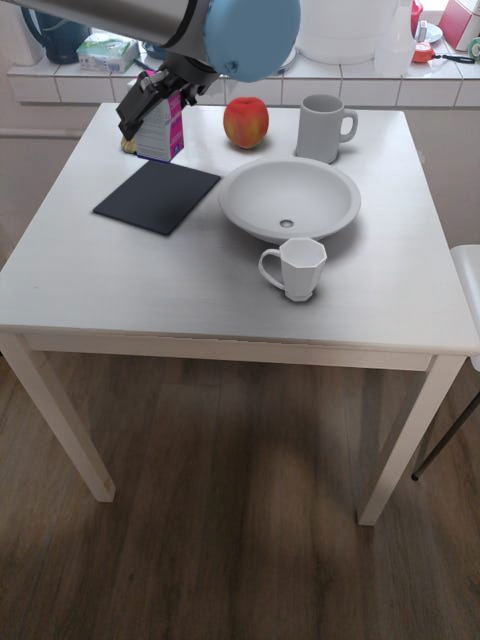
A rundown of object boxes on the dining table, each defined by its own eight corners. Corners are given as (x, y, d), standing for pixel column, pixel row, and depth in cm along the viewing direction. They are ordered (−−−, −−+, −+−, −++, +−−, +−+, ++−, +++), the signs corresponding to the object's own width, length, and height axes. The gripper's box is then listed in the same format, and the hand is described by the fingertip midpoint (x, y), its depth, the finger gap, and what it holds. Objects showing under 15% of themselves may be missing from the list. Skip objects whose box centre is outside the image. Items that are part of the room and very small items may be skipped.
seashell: (125, 149, 110) (129, 102, 107) (161, 156, 111) (166, 109, 108) (117, 151, 102) (120, 99, 98) (156, 158, 103) (161, 106, 99)
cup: (315, 312, 73) (321, 273, 67) (251, 297, 75) (252, 257, 69) (325, 281, 77) (332, 242, 71) (265, 268, 79) (266, 228, 73)
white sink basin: (191, 233, 85) (188, 201, 80) (269, 173, 98) (271, 142, 93) (308, 291, 76) (312, 259, 71) (378, 216, 88) (386, 185, 83)
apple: (275, 152, 104) (277, 105, 96) (232, 160, 101) (232, 113, 94) (258, 131, 110) (259, 85, 102) (218, 138, 107) (216, 92, 100)
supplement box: (169, 165, 76) (160, 90, 67) (136, 158, 77) (123, 84, 69) (186, 147, 79) (179, 74, 71) (154, 141, 81) (144, 68, 72)
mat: (93, 212, 90) (92, 209, 89) (152, 160, 102) (151, 157, 101) (167, 236, 85) (167, 233, 85) (220, 178, 97) (220, 176, 96)
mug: (300, 167, 100) (305, 114, 91) (292, 145, 105) (296, 94, 97) (357, 163, 100) (367, 110, 92) (347, 142, 106) (355, 91, 98)
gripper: (154, 95, 54) (104, 169, 73) (281, 47, 63) (205, 124, 83) (117, 29, 52) (76, 123, 72) (252, -10, 61) (183, 83, 81)
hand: (145, 124), depth 77 cm, fingers closed on supplement box, 7 cm apart
